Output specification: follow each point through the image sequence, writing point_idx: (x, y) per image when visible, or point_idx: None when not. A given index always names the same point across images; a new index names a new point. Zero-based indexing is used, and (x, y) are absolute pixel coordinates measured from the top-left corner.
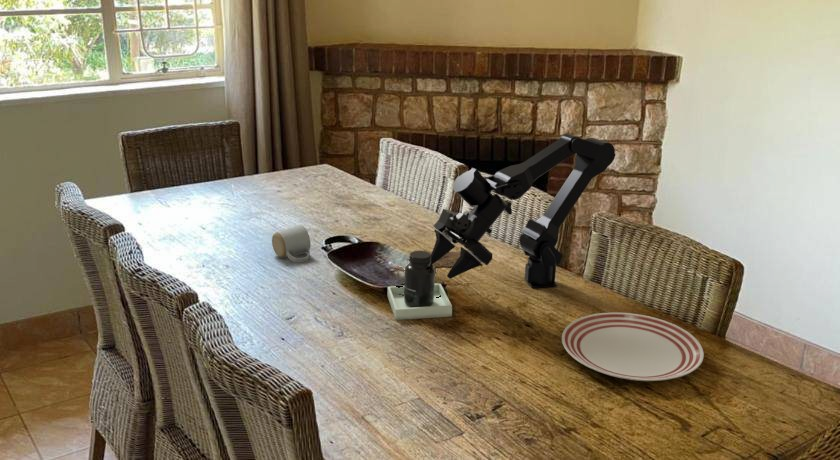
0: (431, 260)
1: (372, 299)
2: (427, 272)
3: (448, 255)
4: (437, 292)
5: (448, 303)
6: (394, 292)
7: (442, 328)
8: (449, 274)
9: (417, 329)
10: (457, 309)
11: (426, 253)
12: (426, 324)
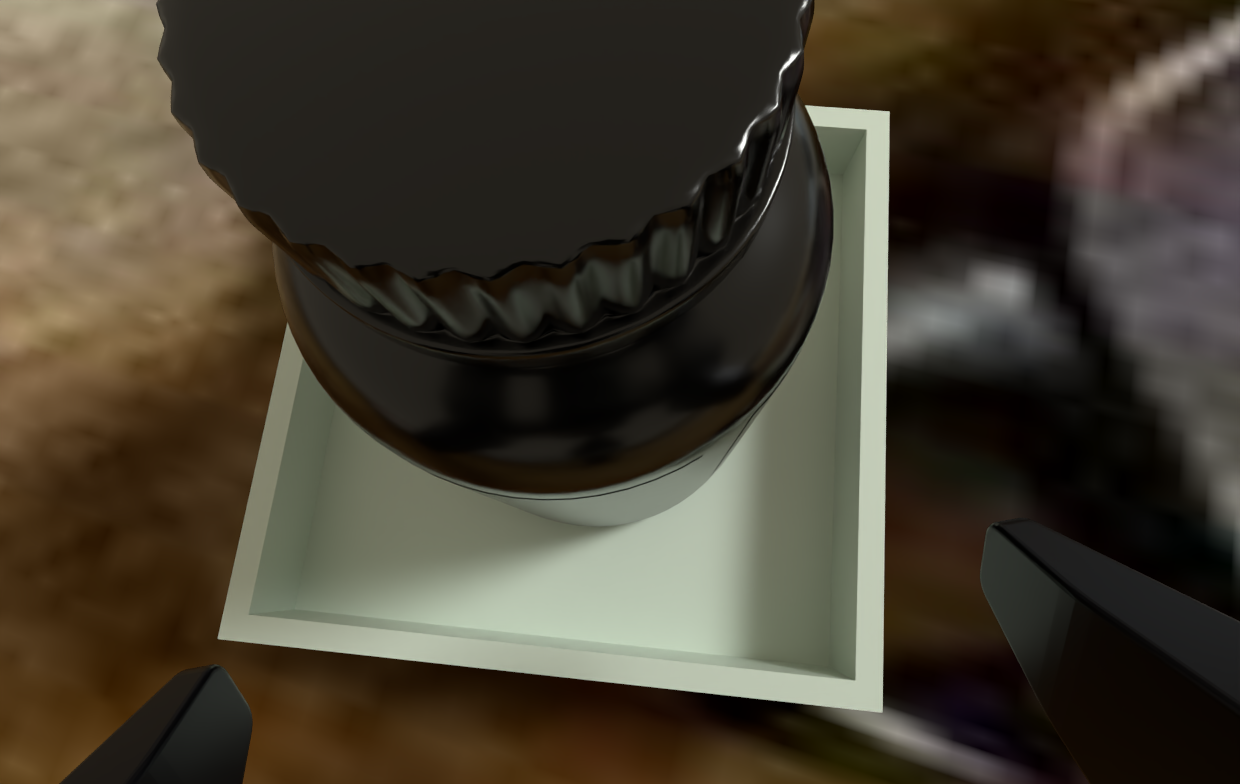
0: (1023, 579)
1: (819, 49)
2: (277, 269)
3: None
4: (817, 648)
5: (297, 619)
6: (848, 202)
7: (91, 463)
8: (142, 714)
9: (160, 258)
10: (413, 743)
11: (506, 155)
12: (216, 351)
